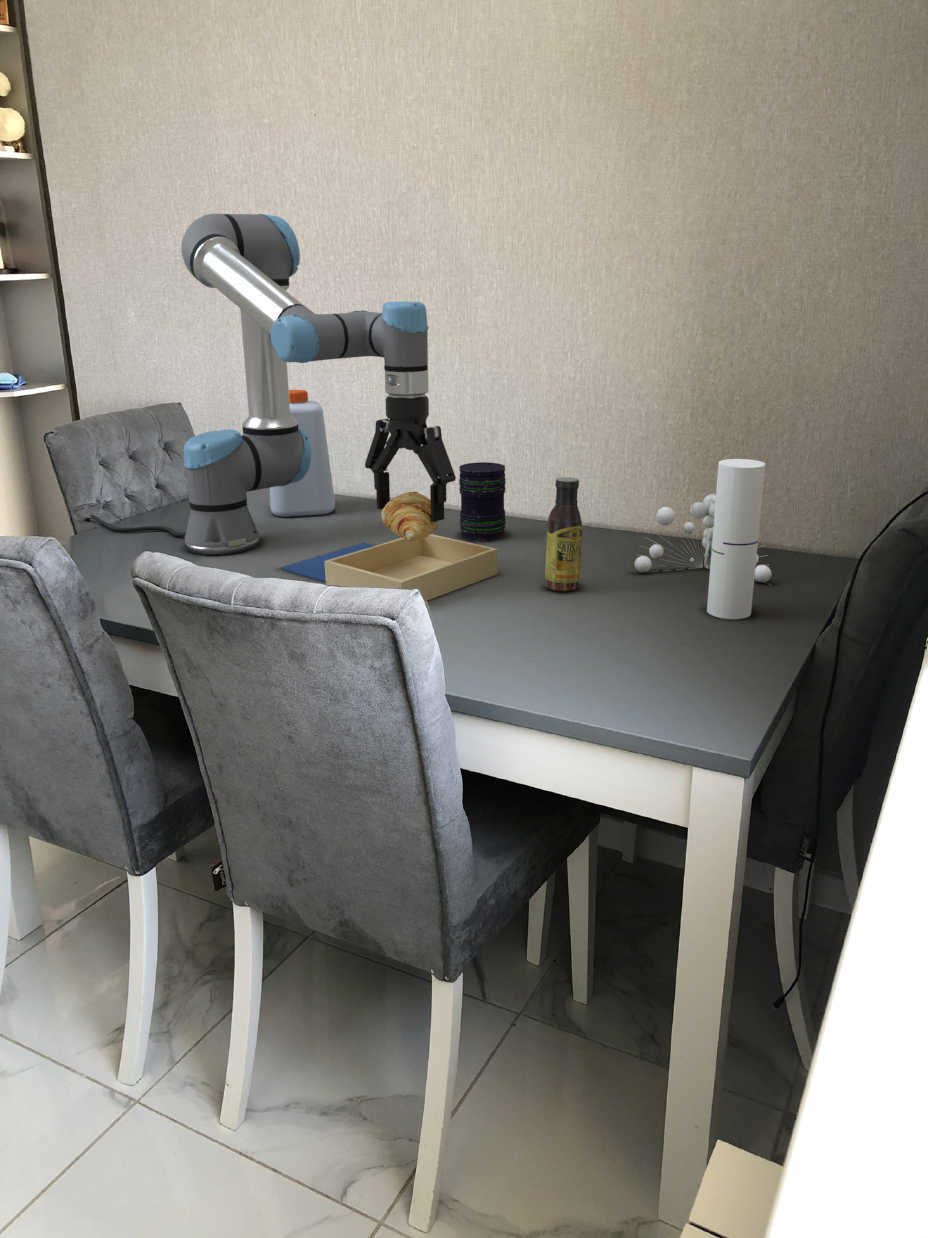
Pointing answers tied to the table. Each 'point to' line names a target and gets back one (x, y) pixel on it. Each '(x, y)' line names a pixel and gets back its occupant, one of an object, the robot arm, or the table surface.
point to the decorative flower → (698, 512)
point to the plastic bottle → (317, 483)
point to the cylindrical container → (735, 537)
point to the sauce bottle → (564, 538)
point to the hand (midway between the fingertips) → (409, 514)
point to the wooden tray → (415, 565)
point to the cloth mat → (321, 563)
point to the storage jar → (482, 501)
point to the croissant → (409, 516)
